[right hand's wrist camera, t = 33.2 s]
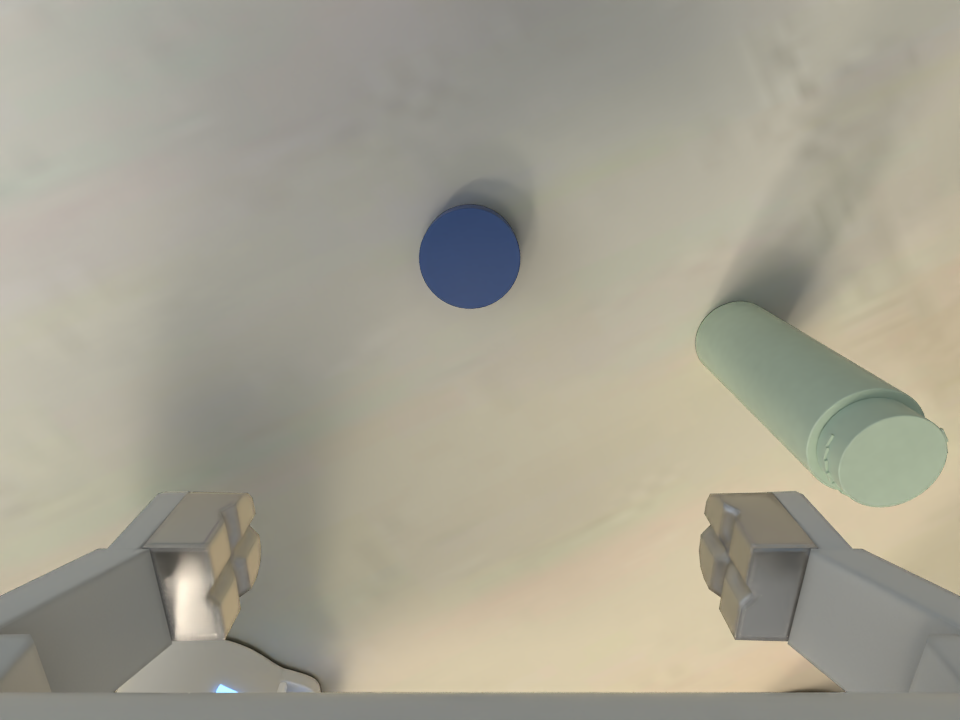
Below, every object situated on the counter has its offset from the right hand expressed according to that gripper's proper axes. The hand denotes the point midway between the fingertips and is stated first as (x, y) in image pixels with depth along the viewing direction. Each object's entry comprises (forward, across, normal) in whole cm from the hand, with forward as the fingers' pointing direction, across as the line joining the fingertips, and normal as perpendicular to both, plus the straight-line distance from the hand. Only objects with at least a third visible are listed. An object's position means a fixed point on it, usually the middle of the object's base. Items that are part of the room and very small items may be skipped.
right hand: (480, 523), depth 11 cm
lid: (+25, -1, 0) cm, 25 cm away
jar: (+27, +16, -6) cm, 32 cm away
